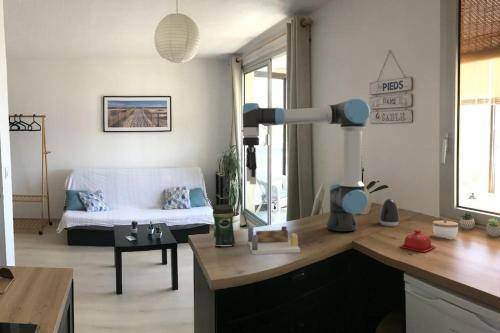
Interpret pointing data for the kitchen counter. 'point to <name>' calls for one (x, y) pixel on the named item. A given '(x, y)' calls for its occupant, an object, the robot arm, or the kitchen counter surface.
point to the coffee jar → (223, 225)
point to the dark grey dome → (389, 213)
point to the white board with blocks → (272, 245)
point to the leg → (273, 235)
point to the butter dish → (417, 242)
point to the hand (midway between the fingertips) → (251, 182)
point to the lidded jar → (445, 229)
